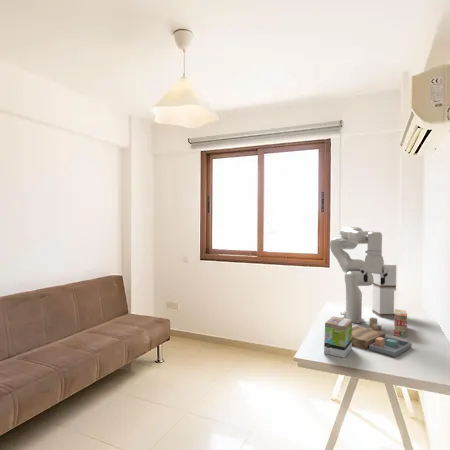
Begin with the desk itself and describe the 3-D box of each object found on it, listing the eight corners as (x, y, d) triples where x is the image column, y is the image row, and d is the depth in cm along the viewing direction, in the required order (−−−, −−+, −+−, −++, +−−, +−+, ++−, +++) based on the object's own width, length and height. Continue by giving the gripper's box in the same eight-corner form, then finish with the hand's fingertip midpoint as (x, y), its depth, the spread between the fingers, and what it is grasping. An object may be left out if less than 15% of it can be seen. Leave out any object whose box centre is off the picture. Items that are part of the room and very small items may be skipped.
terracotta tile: (375, 338, 165) (380, 340, 163) (379, 336, 168) (384, 338, 166) (375, 347, 165) (380, 349, 163) (379, 345, 168) (384, 347, 166)
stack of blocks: (394, 325, 205) (394, 305, 205) (405, 327, 203) (406, 307, 202) (394, 335, 186) (394, 313, 186) (406, 337, 183) (407, 315, 183)
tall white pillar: (395, 317, 225) (396, 264, 225) (379, 316, 225) (380, 264, 225) (387, 312, 236) (388, 263, 236) (372, 312, 236) (373, 262, 236)
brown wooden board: (337, 340, 176) (337, 333, 176) (356, 333, 190) (356, 326, 190) (367, 349, 164) (367, 341, 164) (385, 340, 178) (385, 333, 178)
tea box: (345, 358, 153) (346, 326, 153) (323, 353, 158) (323, 322, 158) (352, 348, 166) (352, 318, 166) (331, 344, 171) (332, 315, 171)
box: (369, 350, 164) (369, 345, 164) (387, 341, 177) (387, 336, 177) (394, 357, 155) (394, 352, 155) (411, 347, 168) (411, 342, 168)
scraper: (363, 334, 188) (364, 320, 188) (377, 329, 199) (377, 315, 199) (369, 335, 186) (369, 321, 186) (382, 330, 196) (382, 316, 196)
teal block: (394, 342, 166) (394, 347, 166) (398, 340, 169) (398, 345, 169) (385, 340, 169) (385, 345, 169) (389, 338, 172) (389, 343, 172)
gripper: (356, 252, 196) (356, 281, 197) (387, 255, 183) (386, 286, 184) (363, 252, 201) (362, 280, 202) (392, 254, 188) (392, 284, 188)
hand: (374, 283), depth 193 cm, fingers open, 9 cm apart
